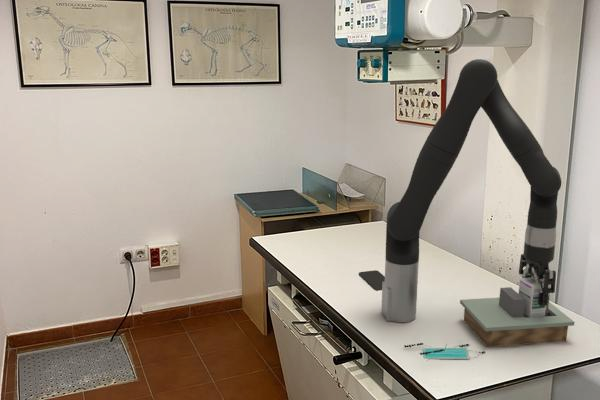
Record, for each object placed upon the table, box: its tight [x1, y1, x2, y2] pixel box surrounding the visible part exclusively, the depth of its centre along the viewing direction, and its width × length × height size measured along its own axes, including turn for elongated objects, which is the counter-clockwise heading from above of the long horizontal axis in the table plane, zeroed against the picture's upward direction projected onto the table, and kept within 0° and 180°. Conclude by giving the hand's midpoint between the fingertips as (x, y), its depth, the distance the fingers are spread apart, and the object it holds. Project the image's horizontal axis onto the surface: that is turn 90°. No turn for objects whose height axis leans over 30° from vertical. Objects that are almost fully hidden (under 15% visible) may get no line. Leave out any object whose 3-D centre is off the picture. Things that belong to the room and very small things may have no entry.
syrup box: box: [518, 277, 551, 318], centre depth 161 cm, size 6×6×14 cm
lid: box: [459, 286, 576, 331], centre depth 160 cm, size 24×17×6 cm
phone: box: [358, 269, 385, 291], centre depth 196 cm, size 7×1×15 cm
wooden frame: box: [463, 308, 569, 348], centre depth 161 cm, size 22×15×5 cm
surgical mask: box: [403, 342, 486, 362], centre depth 150 cm, size 21×4×10 cm
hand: (534, 298), depth 160 cm, fingers open, 8 cm apart
